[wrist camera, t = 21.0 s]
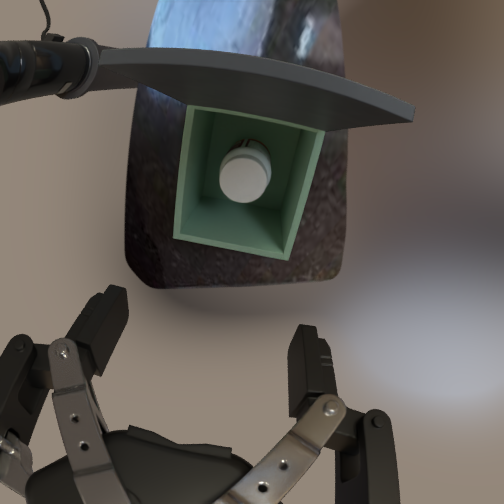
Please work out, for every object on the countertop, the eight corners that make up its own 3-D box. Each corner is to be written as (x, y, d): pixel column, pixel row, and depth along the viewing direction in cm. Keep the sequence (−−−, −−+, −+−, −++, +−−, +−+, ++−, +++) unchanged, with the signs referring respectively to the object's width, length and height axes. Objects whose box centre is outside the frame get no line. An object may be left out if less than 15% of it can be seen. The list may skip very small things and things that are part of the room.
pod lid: (413, 123, 10) (416, 106, 9) (96, 65, 9) (101, 49, 9) (326, 131, 25) (328, 124, 25) (186, 104, 24) (187, 96, 24)
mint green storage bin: (283, 214, 45) (288, 261, 33) (198, 197, 44) (172, 238, 33) (308, 117, 37) (326, 127, 25) (213, 98, 36) (188, 100, 24)
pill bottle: (229, 179, 41) (216, 208, 32) (226, 138, 38) (211, 154, 28) (271, 178, 41) (272, 207, 31) (270, 137, 38) (271, 152, 28)
